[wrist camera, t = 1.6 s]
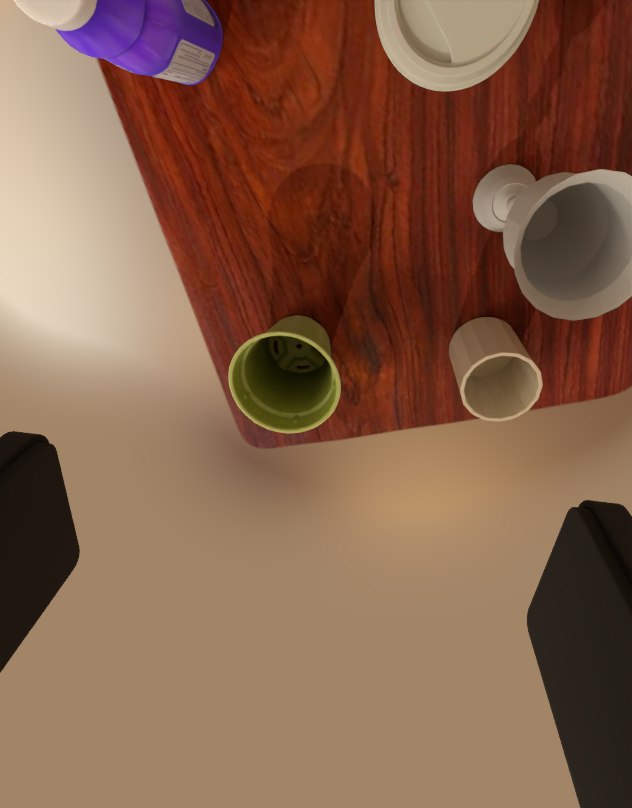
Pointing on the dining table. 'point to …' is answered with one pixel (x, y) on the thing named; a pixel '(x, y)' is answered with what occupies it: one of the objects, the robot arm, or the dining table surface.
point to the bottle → (138, 33)
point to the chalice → (563, 236)
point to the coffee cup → (451, 38)
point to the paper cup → (493, 370)
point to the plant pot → (286, 377)
